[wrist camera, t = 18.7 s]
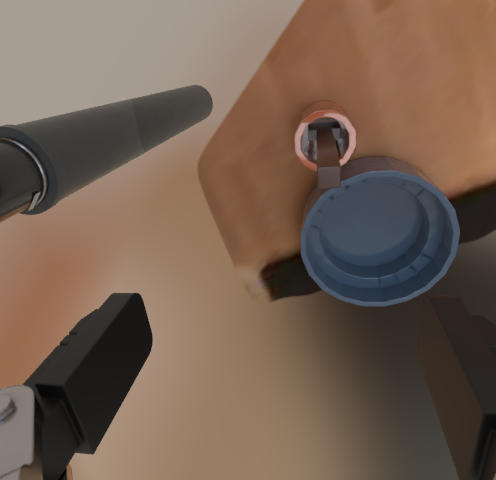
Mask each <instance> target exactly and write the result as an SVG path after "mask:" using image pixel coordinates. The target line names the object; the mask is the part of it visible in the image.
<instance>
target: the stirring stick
mask: <svg viewBox="0 0 496 480" xmlns="http://www.w3.org/2000/svg"><path fill="white" fill-rule="evenodd" d="M334 139H340V126H339V123H338V121H334V122H323V123H311V124H309V125H308V141H315V140H316V145H317V188H318V189H331V188H340V187H341V165H340V161H339V157H338V152H337V148H336V144H335V140H334Z"/></svg>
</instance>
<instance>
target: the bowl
mask: <svg viewBox="0 0 496 480" xmlns="http://www.w3.org/2000/svg"><path fill="white" fill-rule="evenodd" d="M459 236H460V229H459V224H458V220H457V216H456V212H455V209H454V208H453V206H452V205H451V203H450V202H449V201H448V199H447V198H446V196H445V195H444V194H443V192H442V191H441V190H440V189H439V188H438V187H437V186H436V185H435V184H434V183H433V181H432V180H431V179H430V178H429V177H428V176H427V175H426V174H425V173H423V172H422V171H420V170H418V169H417V168H415V167H414V166H412V165H411V164H409V163H408V162H404V161H400V160H396V159H392V158H388V157H368V158H359V159H356V160H354V161H351V162H348V163H346V164H344V165H342V166H341V187H340V188H331V189H318V188H317V185H316V186H315V187H314V189H313V190H312V192H311V193H310V194H309V196H308V198H307V200H306V204H305V207H304V210H303V214H302V219H301V231H300V245H301V257H302V260H303V262H304V264H305V267H306V269H307V271H308V274H309V275H310V276H311V277H312V279H313V280H314V281H315V282H316V283H317V284H318V285H319V286H320V287H321V289H323V290H324V291H326V292H327V293H329V294H331V295H332V296H334V297H336V298H337V299H339V300H341V301H345V302H349V303H352V304H356V305H360V306H388V305H393V304H396V303H401V302H405V301H408V300H410V299H412V298H414V297H416V296H418V295H420V294H422V293H424V292H425V291H427V290H429V289H430V288H431V287H432V286H433V285H434V284H435V283H436V282H437V281H438V280H440V279H441V278H442V277H443V276H444V275H445V274H446V272H447V270H448V269H449V267H450V265H451V263H452V261H453V260H454V258H455V256H456V254H457V248H458V242H459Z"/></svg>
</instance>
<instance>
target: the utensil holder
mask: <svg viewBox="0 0 496 480" xmlns="http://www.w3.org/2000/svg"><path fill="white" fill-rule="evenodd" d="M334 121H338V123H339V126H340V139H334V140H335V144H336V148H337V152H338V157H339V161H340V165H341V166H342V165H344V164H346V163H347V162H348V160H349V159H350V157H351V155H352V154H353V152H354V150H355V148H356V130H355V128H354V127H353V125H352V123H351V121H350V119H349V118H348V116H347V114H346V113H345V111H344V109H343V107H342V106H340V105H338V104H337V103H335V102H332V101H326V100H324V101H318V102H315V103H313V104H311V105H309V106H308V107H307V108H306V109H305V110H304V111H303V113H302V114H301V116H300V119H299V121H298V123H297V127H296V130H295V134H294V149H295V154H296V155H297V157H298V158H299V160H300V161H301V163H302V164H303V165H304V166H306V167H308V168H310V169H312V170H314V171H316V172H317V145H316V140H315V141H308V125H309V124H311V123H323V122H334Z"/></svg>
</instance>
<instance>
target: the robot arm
mask: <svg viewBox="0 0 496 480" xmlns="http://www.w3.org/2000/svg"><path fill="white" fill-rule="evenodd" d="M48 188H49V179H48V174H47V171H46V168H45V166H44V164H43V162H42V161H41V159H40V158H39V157H38V155H37V154H36V153H35V152H34V151H33V150H32V149H31V148H30V147H28V146H27V145H26V144H24V143H22V142H21V141H19V140H16V139H13V138H9V137H0V223H1V222H3V221H4V220H6V219H8V218H10V217H12V216H14V215H16V214H18V213H20V212H22V211H24V210H26V209H28V208H29V210H31V209H33V208H34V206H35V205H37V204H39V203H40V202H41V201H43V199H44V198H45V197H46V195H47V192H48ZM29 210H28V211H29ZM151 348H152V332H151V328H150V324H149V321H148V317H147V313H146V310H145V306H144V302H143V299H142V297H141V295H140V294H138V293H113V294H111V295H110V296H109V298H108V299H107V300H106V301H105V302H104V303H103V305H102V306H101V307H100V308H99V309H96V310H94V311H93V312H91V313H90V314H89V315H87V316H86V317H84V318H83V319H81V320H80V321H79V322H78V323H77V324H76V326H75V327H74V328H73V329H72V330H71V331H70V332H69V335H67V336H66V337H65V338H64V339H63V340H62V341H61V342H60V346H57V347H56V348H55V349H54V350H53V351H52V352H51V354H50V355H49V356H48V357H47V358H46V359H45V360H44V361H43V362H42V364H41V365H40V366H39V367H38V368H37V369H36V371H34V373H33V374H32V375H31V376H30V377H29V378H28V379H27V380H26V382H25V383H24V384H23V385H15V386H11V387H7V388H4V389H1V390H0V480H73V478H72V469H71V467H70V465H69V462H70V460H71V459H72V457H73V455H74V453H84V454H94V453H95V451H96V449H97V447H98V445H99V444H100V442H101V440H102V438H103V436H104V435H105V433H106V431H107V429H108V428H109V426H110V424H111V422H112V420H113V418H114V416H115V415H116V413H117V411H118V410H119V408H120V406H121V404H122V402H123V401H124V399H125V397H126V395H127V393H128V392H129V390H130V388H131V386H132V384H133V383H134V381H135V379H136V377H137V376H138V374H139V372H140V370H141V368H142V367H143V365H144V363H145V361H146V359H147V357H148V356H149V354H150V351H151ZM418 355H419V360H420V365H421V368H422V371H423V374H424V377H425V380H426V383H427V385H428V389H429V392H430V395H431V397H432V401H433V403H434V406H435V409H436V412H437V415H438V418H439V421H440V424H441V427H442V430H443V432H444V436H445V439H446V442H447V444H448V447H449V450H450V453H451V456H452V459H453V462H454V465H455V467H456V471H457V474H458V477H459V479H460V480H496V325H494V324H493V323H492V322H490V321H489V320H488V319H486V318H485V317H484V316H470V314H469V312H468V311H467V309H466V307H465V306H464V304H463V302H462V301H461V299H460V298H459V297H458V296H454V295H452V296H449V295H448V296H447V295H444V296H443V295H426V296H425V297H424V299H423V304H422V313H421V320H420V329H419V337H418Z"/></svg>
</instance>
